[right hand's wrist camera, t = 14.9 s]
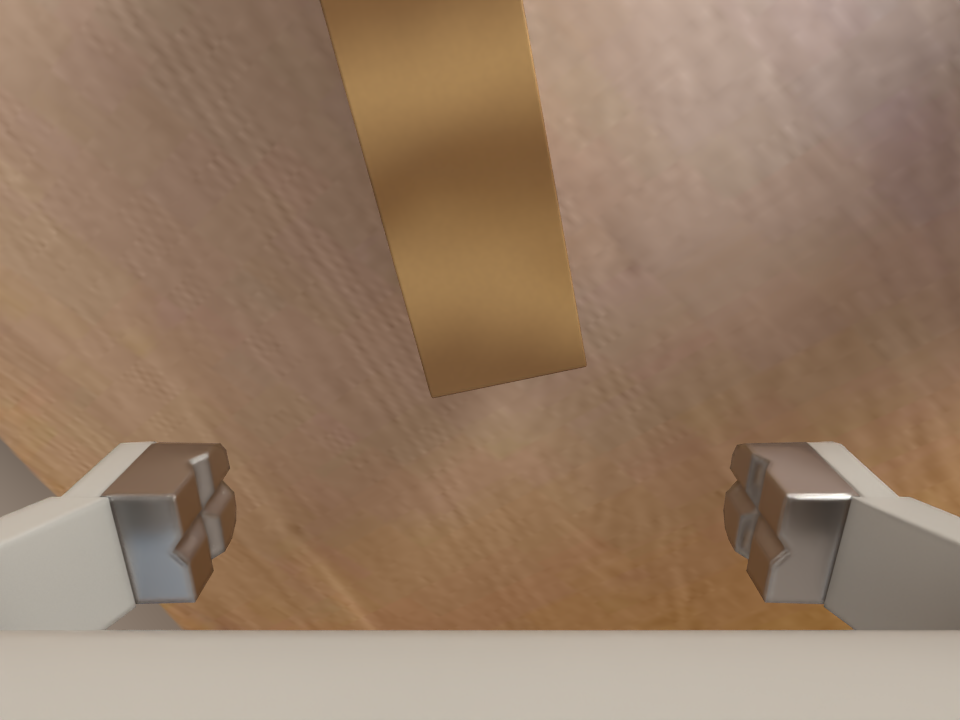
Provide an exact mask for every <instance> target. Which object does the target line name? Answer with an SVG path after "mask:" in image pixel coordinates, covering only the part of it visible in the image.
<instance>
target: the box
mask: <svg viewBox="0 0 960 720" xmlns="http://www.w3.org/2000/svg"><path fill="white" fill-rule="evenodd" d="M320 3H321V7H322V10H323V14H324V17H325V21H326V24H327V28H328V32H329V35H330V39H331V42H332V46H333V49H334V53H335V56H336V60H337V64H338V67H339V71H340V74H341V78H342V81H343V85H344V88H345V92H346V96H347V99H348V103H349V106H350V110H351V113H352V117H353V121H354V124H355V128H356V131H357V135H358V138H359V142H360V145H361V149H362V153H363V156H364V160H365V163H366V167H367V170H368V174H369V177H370V181H371V185H372V188H373V192H374V195H375V199H376V202H377V206H378V209H379V213H380V217H381V220H382V224H383V227H384V231H385V234H386V238H387V241H388V245H389V249H390V252H391V256H392V259H393V263H394V266H395V270H396V273H397V277H398V281H399V284H400V288H401V291H402V295H403V298H404V302H405V305H406V309H407V313H408V316H409V320H410V323H411V327H412V330H413V334H414V337H415V341H416V345H417V348H418V352H419V355H420V359H421V362H422V366H423V369H424V373H425V377H426V380H427V384H428V387H429V391H430V394H431V397H432V398H436V397H441V396H446V395H451V394H456V393H461V392H465V391H470V390H475V389H480V388H485V387H490V386H495V385H499V384H504V383H509V382H514V381H519V380H524V379H529V378H533V377H538V376H543V375H548V374H553V373H558V372H563V371H568V370H572V369H577V368H582V367H586V365H587V363H586V357H585V352H584V346H583V340H582V335H581V329H580V323H579V318H578V312H577V306H576V301H575V295H574V289H573V284H572V278H571V272H570V267H569V261H568V255H567V250H566V244H565V238H564V233H563V227H562V221H561V216H560V210H559V204H558V199H557V193H556V187H555V181H554V176H553V170H552V164H551V159H550V153H549V147H548V142H547V136H546V130H545V125H544V119H543V113H542V108H541V102H540V96H539V91H538V85H537V79H536V74H535V68H534V62H533V57H532V51H531V45H530V40H529V34H528V28H527V23H526V17H525V11H524V6H523V0H320Z"/></svg>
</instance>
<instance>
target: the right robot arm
mask: <svg viewBox="0 0 960 720" xmlns="http://www.w3.org/2000/svg"><path fill="white" fill-rule="evenodd" d="M229 469H230V466H229V461H228V456H227V451H226V449H225V448H224V447H223V446H222V445H221V444H220V443H170V442H159V443H157V442H127V443H120V444H119V445H118V446H116V447H115V448H114V449H113V450H112V451H111V452H110V453H109V454H108V455H107V456H105V457H104V458H103V459H102V460H101V461H100V462H99V463H98V464H97V465H95V466H94V467H93V468H92V469H91V470H90V471H89V472H88V473H87V474H86V475H84V476H83V477H82V478H81V479H80V480H79V481H78V482H77V483H76V484H75V485H73V486H72V487H71V488H70V489H69V490H68V491H67V492H66V493H65V494H64V495H62V496H61V497H49V498H47V499H44V500H42V501H39V502H37V503H34V504H32V505H29V506H27V507H24V508H22V509H19V510H17V511H14V512H12V513H9V514H7V515H4V516H2V517H0V720H960V517H958V516H955V515H953V514H951V513H948V512H946V511H943V510H941V509H938V508H936V507H933V506H931V505H928V504H926V503H923V502H921V501H918V500H916V499H914V498H911V497H899V496H898V495H897V494H895V493H894V492H893V491H892V490H891V489H890V488H889V487H888V486H887V485H886V484H884V483H883V482H882V481H881V480H880V479H879V478H878V477H877V476H876V475H875V474H873V473H872V472H871V471H870V470H869V469H868V468H867V467H866V466H865V465H864V464H862V463H861V462H860V461H859V460H858V459H857V458H856V457H855V456H854V455H853V454H851V453H850V452H849V451H848V450H847V449H846V448H845V447H844V446H843V445H842V444H839V443H836V442H833V441H832V442H809V443H806V442H793V443H752V444H740V445H737V446H736V448H735V450H734V452H733V455H732V460H731V465H730V469H731V471H732V472H733V474H734V475H735V477H736V479H737V481H736V482H735V484H734V485H733V486H732V487H731V488H730V489H729V490H728V491H727V492H726V495H725V502H724V510H723V512H724V523H725V529H726V533H727V536H728V539H729V541H730V543H731V545H732V547H733V548H734V550H735V551H736V552H737V553H739V554H740V555H742V556H744V557H745V558H747V559H748V565H747V570H746V571H747V573H748V574H749V576H750V578H751V579H752V581H753V583H754V585H755V586H756V588H757V590H758V591H759V593H760V595H761V596H762V598H763V600H764V601H765V602H769V603H806V604H824V607H825V608H826V609H828V610H829V611H830V612H832V613H833V614H834V615H836V616H837V617H838V618H840V619H841V620H842V621H844V622H845V623H846V624H848V625H849V626H850V627H852V628H853V629H854V630H106V629H107V628H108V627H110V626H111V625H112V624H114V623H115V622H116V621H118V620H119V619H120V618H122V617H123V616H124V615H126V614H127V613H128V612H130V611H131V610H133V609H134V608H135V607H136V604H154V603H190V602H196V600H197V598H198V597H199V595H200V593H201V591H202V590H203V588H204V586H205V585H206V583H207V581H208V580H209V578H210V576H211V574H212V573H213V571H214V570H213V565H212V559H213V558H215V557H216V556H218V555H220V554H221V553H223V552H224V551H225V550H226V548H227V547H228V545H229V543H230V541H231V539H232V536H233V532H234V528H235V524H236V501H235V495H234V492H233V491H232V490H231V489H230V488H229V487H228V486H227V485H226V484H225V482H224V481H223V479H224V477H225V475H226V474H227V472H228V471H229Z"/></svg>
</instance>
